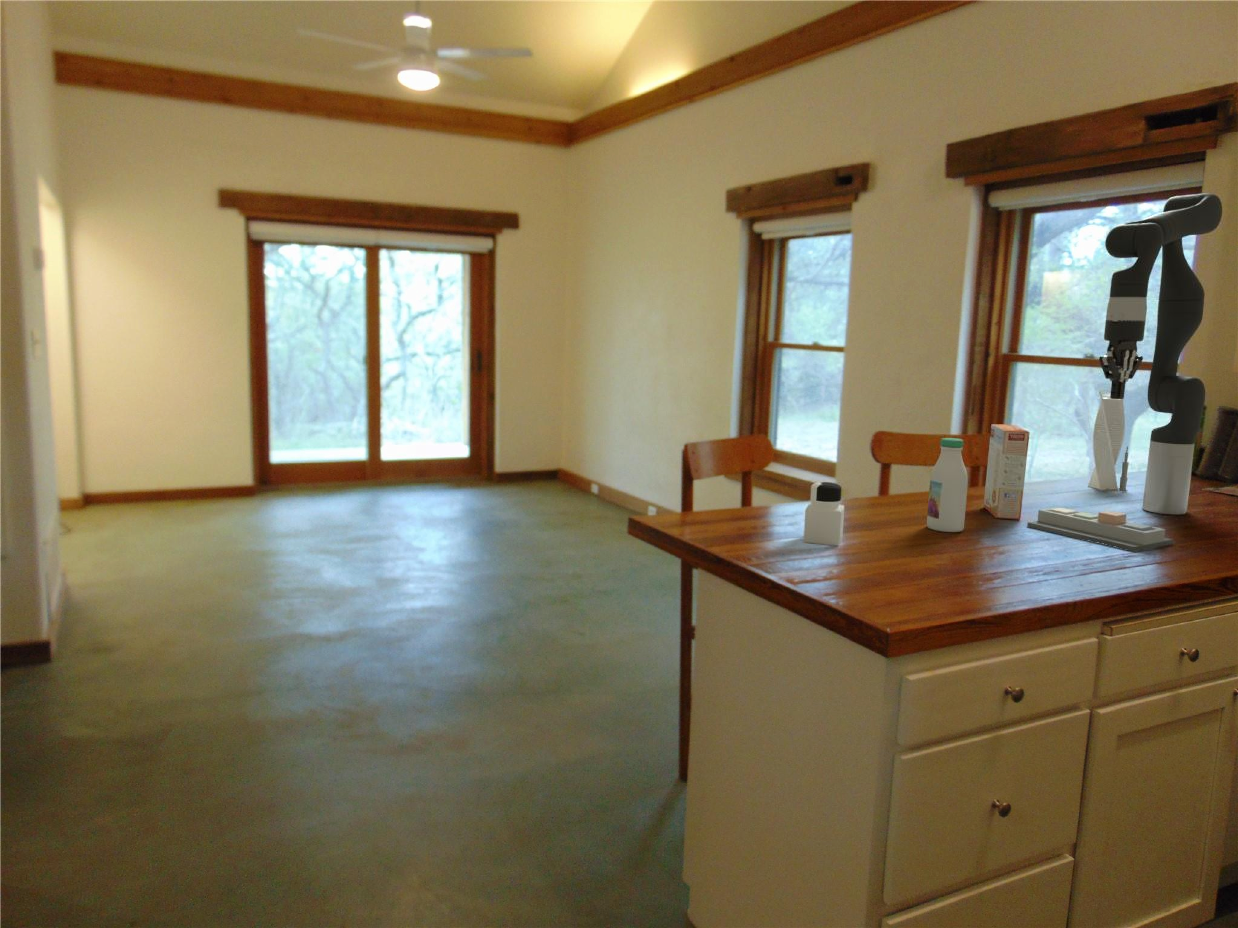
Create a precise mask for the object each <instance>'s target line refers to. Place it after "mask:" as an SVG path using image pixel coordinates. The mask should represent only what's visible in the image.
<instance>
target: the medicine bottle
mask: <svg viewBox="0 0 1238 928" xmlns="http://www.w3.org/2000/svg"><path fill="white" fill-rule="evenodd" d="M809 500H810V501H809V503H808V505H807V506H806V508H805V512H804V514H805V515H804V525H803V526H804V529H803V542H804V543H807V544H814V543H815V544H817V545H825V546H828V545H829V546H833V547H834V546H837V547H838V546H840V544H841V542H842V540H843V533H844V517H845V505H844V504H841V501H842V486H841V485H839V484H838V483H835V482H829V481H817V482H815V483H812V485H810V499H809Z"/></svg>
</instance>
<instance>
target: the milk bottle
mask: <svg viewBox="0 0 1238 928" xmlns="http://www.w3.org/2000/svg"><path fill="white" fill-rule="evenodd" d="M963 448H964V440H963V439H961V438H957V437H956V438H954V437H945V438H944V437H942V438H940V450H941V451H940V453H939V456H938V459H937V461H936V463H935V464H934V466H933V469H932V471H931V474H930V482H929V491H928V500H927V504H928V505H927V517H926V526H927V528H928V529H930V530H931V531H932V530H933V531H937V532H943V533H960V532H962V531H964V528H965V520H966V518H965V517H966V507H967V494H968V471H967V468H966V466H965V463H964V460H963V456H962V451H963Z"/></svg>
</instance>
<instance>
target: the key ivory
mask: <svg viewBox="0 0 1238 928" xmlns="http://www.w3.org/2000/svg"><path fill="white" fill-rule="evenodd" d="M1055 508H1056V507H1055ZM1077 511H1078V510H1075V509H1069V508H1064V507H1059V508H1056V509H1051V511H1050V512H1055V513H1060V514H1064V515H1068V514H1075V513H1077Z"/></svg>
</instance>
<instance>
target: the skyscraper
mask: <svg viewBox="0 0 1238 928" xmlns="http://www.w3.org/2000/svg"><path fill="white" fill-rule="evenodd" d="M1104 392H1105V393H1107V392H1108V393H1111V389H1100V390H1099V391H1098V394H1099V397H1100V400H1101V401H1100V404H1099V407H1098V410H1097V412H1096V416H1095V417H1096V418H1095V420H1094V425H1093V433H1092V451H1093V460H1094V469H1093V470H1092V474H1091V476H1090V478H1089V482H1088V485H1087V488H1090V489H1093V490H1099V491H1102V492H1105V491H1116V492H1128V490H1127V483H1128V471H1129V470H1128V469H1129V465H1130V464H1129V463H1130V462H1129V461H1128V458H1129V452H1128V451H1129V446H1126V450H1125V451H1126V452H1124V459H1123V460H1124V461H1122V467H1121V476H1120V477H1119V486H1118V481H1117V475H1116V465H1117V462H1118V459H1119V457H1120V453H1121V450H1122V449H1123V448H1122V447H1123V444H1124V438H1125V431H1126V417H1125V415H1126V414H1125V405H1124V401H1125V397H1124V398H1123V399H1111V398H1110V395H1111V394H1102V393H1104Z"/></svg>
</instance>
